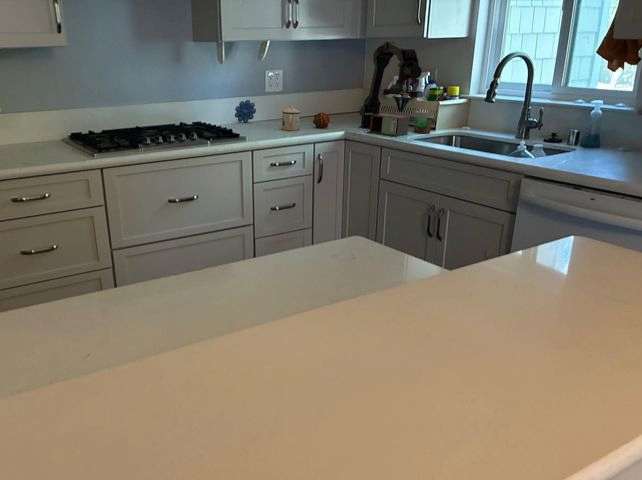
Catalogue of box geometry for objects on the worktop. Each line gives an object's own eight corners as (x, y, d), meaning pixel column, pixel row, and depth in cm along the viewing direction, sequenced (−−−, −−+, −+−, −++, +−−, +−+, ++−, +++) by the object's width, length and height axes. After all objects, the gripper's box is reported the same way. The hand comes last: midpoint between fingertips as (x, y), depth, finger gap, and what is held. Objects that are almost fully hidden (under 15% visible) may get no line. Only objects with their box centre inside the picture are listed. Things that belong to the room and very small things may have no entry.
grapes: (256, 122, 336) (257, 99, 332) (255, 123, 330) (255, 100, 325) (235, 121, 337) (235, 98, 333) (233, 122, 331) (234, 99, 326)
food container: (406, 131, 320) (408, 111, 316) (416, 130, 322) (418, 110, 318) (421, 134, 310) (424, 114, 306) (431, 134, 312) (434, 113, 308)
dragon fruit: (318, 132, 318) (320, 132, 330) (332, 122, 316) (333, 123, 327) (309, 117, 317) (311, 118, 329) (323, 108, 315) (325, 109, 326)
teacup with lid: (282, 127, 319) (283, 104, 314) (299, 128, 318) (300, 105, 314) (280, 131, 308) (281, 106, 303) (298, 131, 307) (299, 107, 303)
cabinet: (366, 132, 311) (368, 114, 307) (380, 130, 319) (382, 113, 315) (394, 136, 300) (396, 118, 297) (407, 134, 309) (409, 116, 305)
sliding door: (378, 133, 304) (379, 117, 301) (382, 132, 307) (383, 116, 304) (391, 135, 299) (393, 119, 296) (395, 134, 302) (397, 118, 299)
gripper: (377, 76, 288) (374, 111, 294) (412, 79, 276) (408, 115, 282) (391, 75, 295) (387, 109, 301) (425, 78, 283) (421, 113, 290)
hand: (400, 112), depth 293 cm, fingers closed
